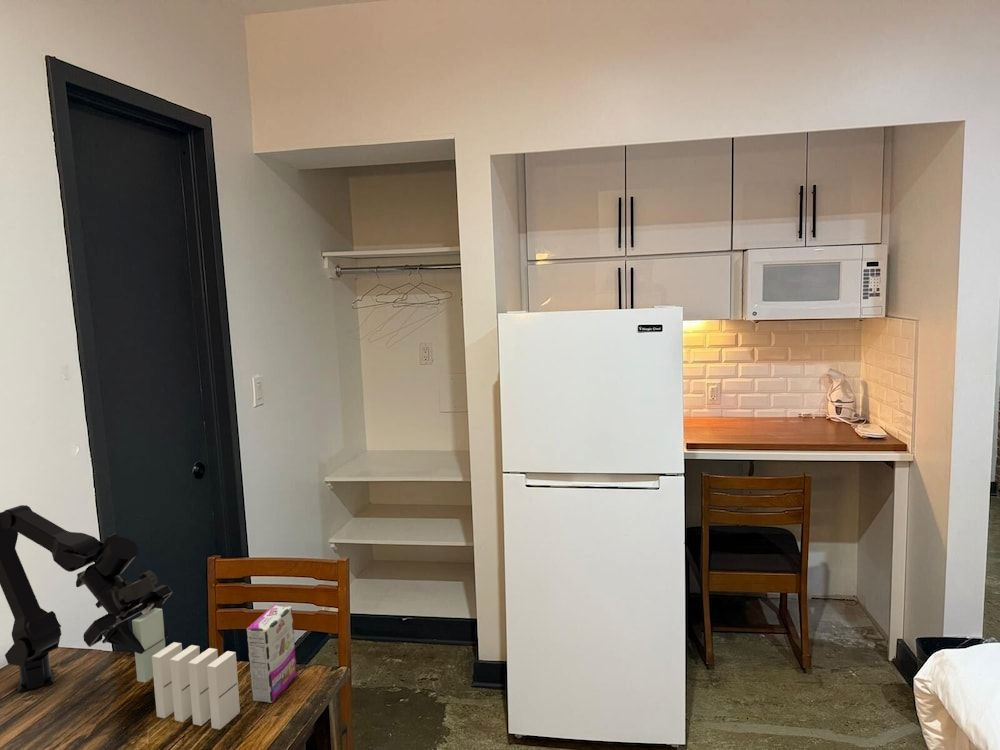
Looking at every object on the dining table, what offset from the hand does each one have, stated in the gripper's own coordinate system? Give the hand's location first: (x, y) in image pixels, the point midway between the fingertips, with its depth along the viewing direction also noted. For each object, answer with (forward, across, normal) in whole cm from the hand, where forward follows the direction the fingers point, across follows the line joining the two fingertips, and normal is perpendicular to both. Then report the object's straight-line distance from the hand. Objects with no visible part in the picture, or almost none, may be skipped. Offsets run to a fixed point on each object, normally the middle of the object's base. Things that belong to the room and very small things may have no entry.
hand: (155, 644), depth 146 cm
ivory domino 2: (+15, 0, +4) cm, 16 cm away
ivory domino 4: (+21, 0, -2) cm, 21 cm away
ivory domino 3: (+18, 0, +1) cm, 18 cm away
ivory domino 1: (+12, 0, +7) cm, 14 cm away
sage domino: (+4, 0, +6) cm, 7 cm away
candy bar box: (+23, +12, -4) cm, 27 cm away
